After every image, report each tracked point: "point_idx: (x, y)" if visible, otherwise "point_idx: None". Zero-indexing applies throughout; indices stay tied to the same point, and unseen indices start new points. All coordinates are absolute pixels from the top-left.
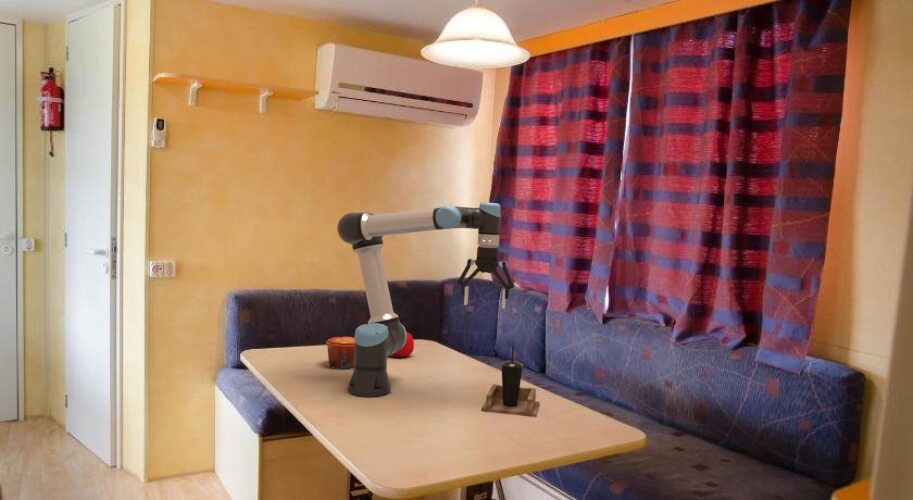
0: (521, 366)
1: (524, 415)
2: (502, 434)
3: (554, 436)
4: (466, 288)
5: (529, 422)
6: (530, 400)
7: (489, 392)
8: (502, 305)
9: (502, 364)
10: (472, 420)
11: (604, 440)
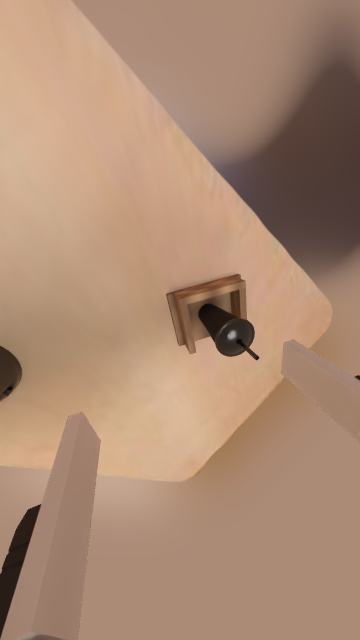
0: (252, 340)
1: None
2: (220, 386)
3: (262, 363)
4: (75, 613)
5: None
6: None
7: (189, 342)
8: (293, 382)
9: (221, 353)
10: (182, 374)
11: None
